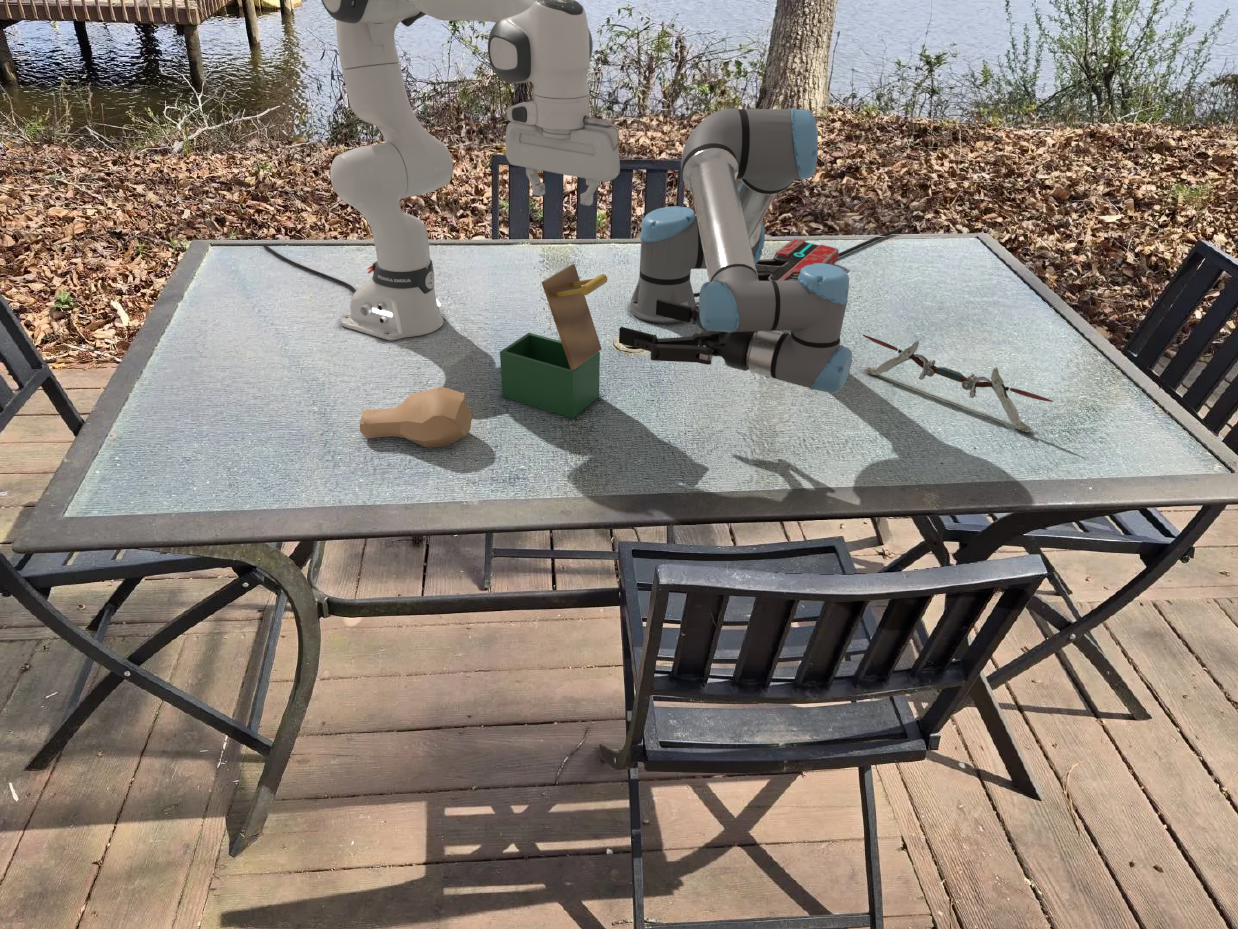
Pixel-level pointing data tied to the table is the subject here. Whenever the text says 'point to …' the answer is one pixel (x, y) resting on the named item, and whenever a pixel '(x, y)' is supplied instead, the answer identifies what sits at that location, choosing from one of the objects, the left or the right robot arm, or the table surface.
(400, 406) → the squash
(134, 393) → the table surface
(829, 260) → the gun
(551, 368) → the chest
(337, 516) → the table surface
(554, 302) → the lid
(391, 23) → the left robot arm
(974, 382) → the bow
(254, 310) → the table surface
